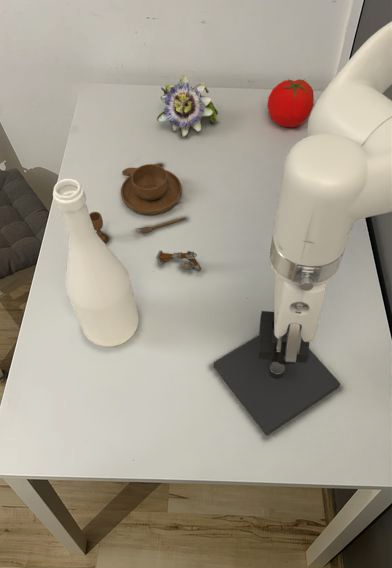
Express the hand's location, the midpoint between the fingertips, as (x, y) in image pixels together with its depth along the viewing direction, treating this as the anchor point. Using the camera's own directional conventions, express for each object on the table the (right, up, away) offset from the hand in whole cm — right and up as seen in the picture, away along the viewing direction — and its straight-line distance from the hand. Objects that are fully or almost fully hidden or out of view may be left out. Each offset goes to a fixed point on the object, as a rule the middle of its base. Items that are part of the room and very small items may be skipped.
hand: (284, 336), depth 68 cm
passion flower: (-14, +48, +42) cm, 65 cm away
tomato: (+8, +49, +41) cm, 64 cm away
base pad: (0, -6, +10) cm, 12 cm away
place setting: (-25, +27, +30) cm, 47 cm away
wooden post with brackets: (-15, +14, +22) cm, 30 cm away
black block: (0, 0, +1) cm, 1 cm away
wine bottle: (-26, +2, +16) cm, 31 cm away
